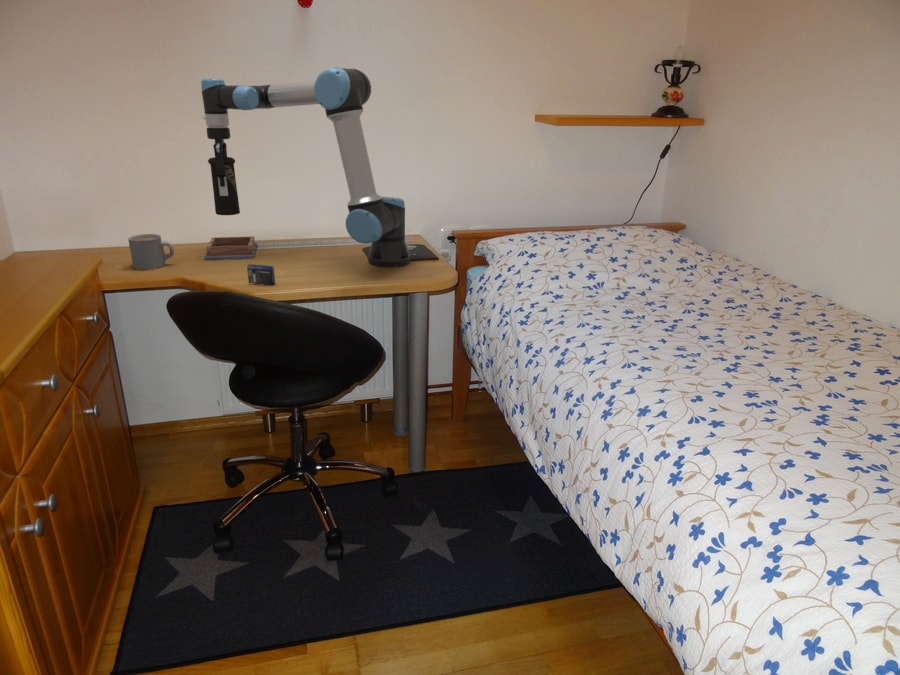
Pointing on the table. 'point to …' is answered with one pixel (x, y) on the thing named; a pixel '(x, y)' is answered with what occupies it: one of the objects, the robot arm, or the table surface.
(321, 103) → the robot arm
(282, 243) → the table surface
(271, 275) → the mini dv tape
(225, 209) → the container
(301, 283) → the table surface
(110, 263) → the table surface
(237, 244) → the collar plate
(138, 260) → the coffee mug
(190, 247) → the table surface
